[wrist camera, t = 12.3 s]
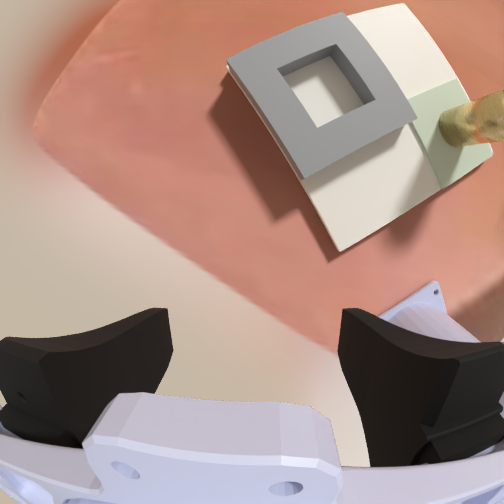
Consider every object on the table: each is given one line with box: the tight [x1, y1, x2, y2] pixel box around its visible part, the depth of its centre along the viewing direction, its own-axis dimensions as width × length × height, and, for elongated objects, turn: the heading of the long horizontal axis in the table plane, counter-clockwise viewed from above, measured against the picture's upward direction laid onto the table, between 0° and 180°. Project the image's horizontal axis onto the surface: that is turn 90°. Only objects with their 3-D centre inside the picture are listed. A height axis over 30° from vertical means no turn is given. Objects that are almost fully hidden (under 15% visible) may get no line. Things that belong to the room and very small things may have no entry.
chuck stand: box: [226, 3, 493, 252], centre depth 16 cm, size 15×17×3 cm
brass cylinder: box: [439, 90, 504, 147], centre depth 13 cm, size 3×3×7 cm
